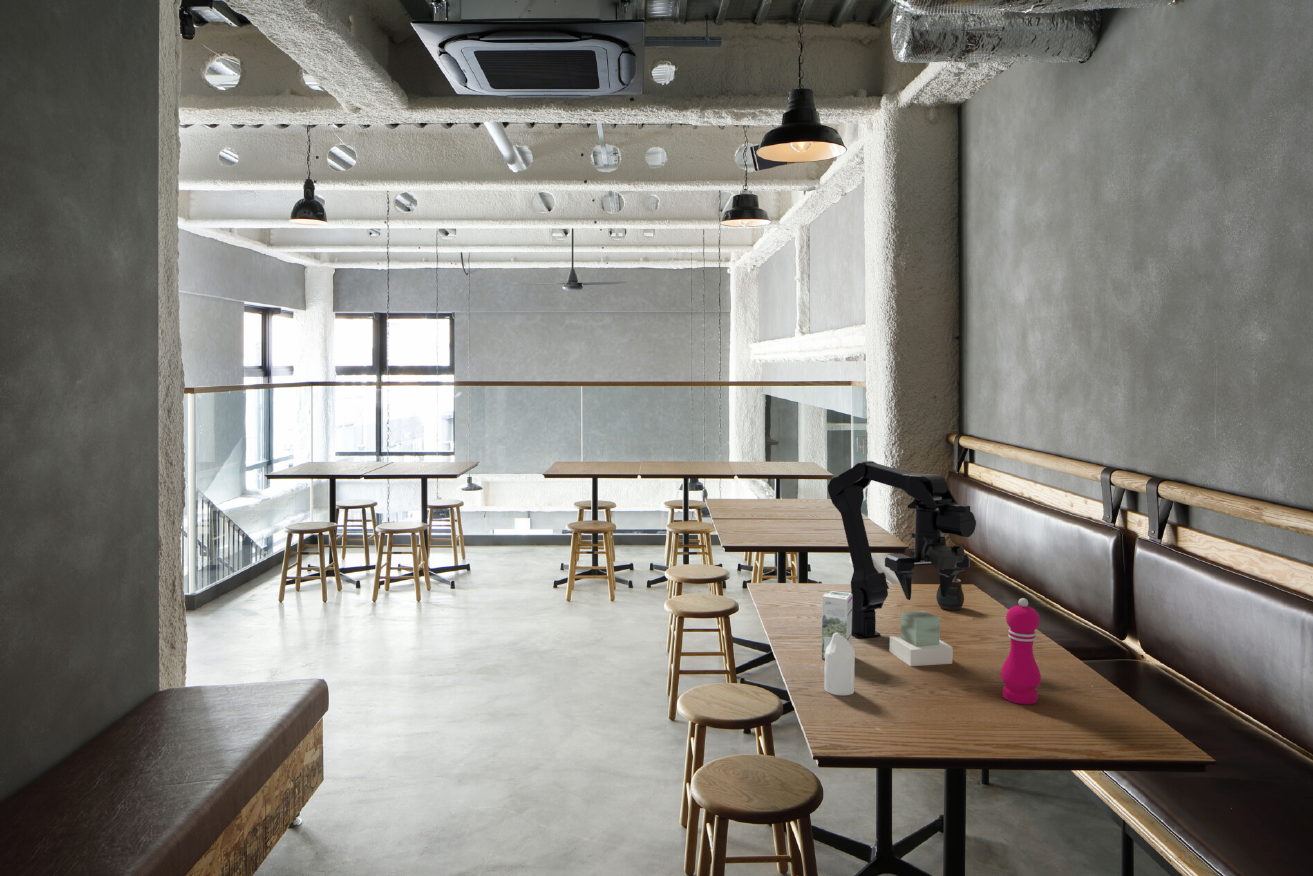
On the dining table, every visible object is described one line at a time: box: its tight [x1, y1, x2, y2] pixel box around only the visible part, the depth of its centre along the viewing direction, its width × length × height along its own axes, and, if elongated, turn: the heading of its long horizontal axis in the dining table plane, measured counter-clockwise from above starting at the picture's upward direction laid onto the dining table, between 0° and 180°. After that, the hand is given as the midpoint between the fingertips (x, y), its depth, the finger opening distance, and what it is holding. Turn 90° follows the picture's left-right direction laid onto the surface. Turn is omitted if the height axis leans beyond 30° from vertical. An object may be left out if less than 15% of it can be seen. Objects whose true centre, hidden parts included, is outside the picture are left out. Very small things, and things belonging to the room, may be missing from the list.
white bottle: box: [823, 633, 856, 696], centre depth 167 cm, size 6×12×6 cm
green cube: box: [900, 610, 941, 647], centre depth 188 cm, size 6×6×6 cm
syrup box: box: [820, 590, 852, 660], centre depth 187 cm, size 6×6×14 cm
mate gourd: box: [935, 575, 965, 611], centre depth 229 cm, size 7×8×10 cm
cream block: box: [889, 635, 954, 667], centre depth 188 cm, size 10×10×4 cm
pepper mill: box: [1000, 597, 1042, 705], centre depth 163 cm, size 7×7×20 cm
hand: (926, 598), depth 189 cm, fingers open, 9 cm apart
